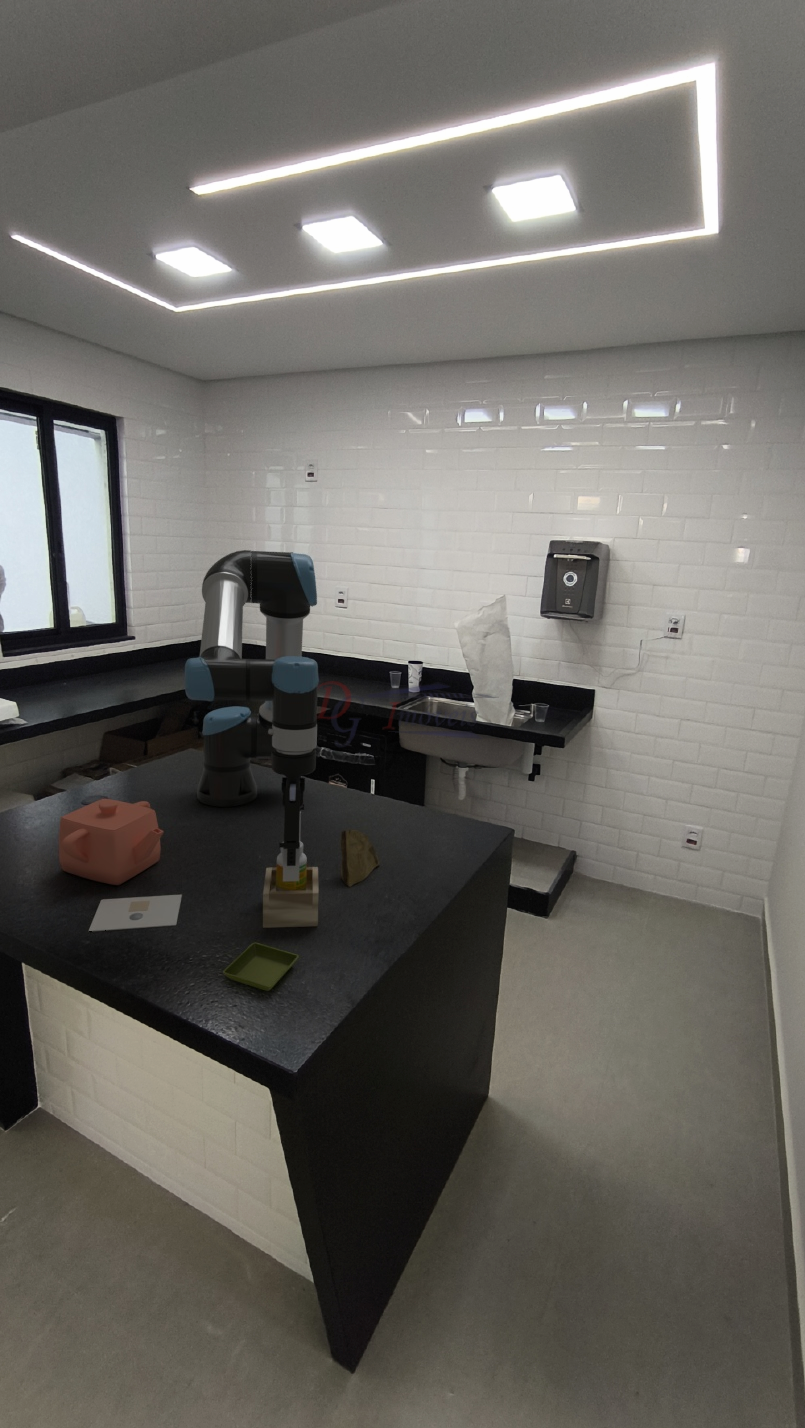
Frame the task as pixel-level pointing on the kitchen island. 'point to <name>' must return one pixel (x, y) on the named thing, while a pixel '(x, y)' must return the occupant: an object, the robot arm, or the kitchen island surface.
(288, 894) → the wooden crate
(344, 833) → the rock
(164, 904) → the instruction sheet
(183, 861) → the kitchen island surface
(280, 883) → the supplement bottle
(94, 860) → the teapot
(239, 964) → the green tray
